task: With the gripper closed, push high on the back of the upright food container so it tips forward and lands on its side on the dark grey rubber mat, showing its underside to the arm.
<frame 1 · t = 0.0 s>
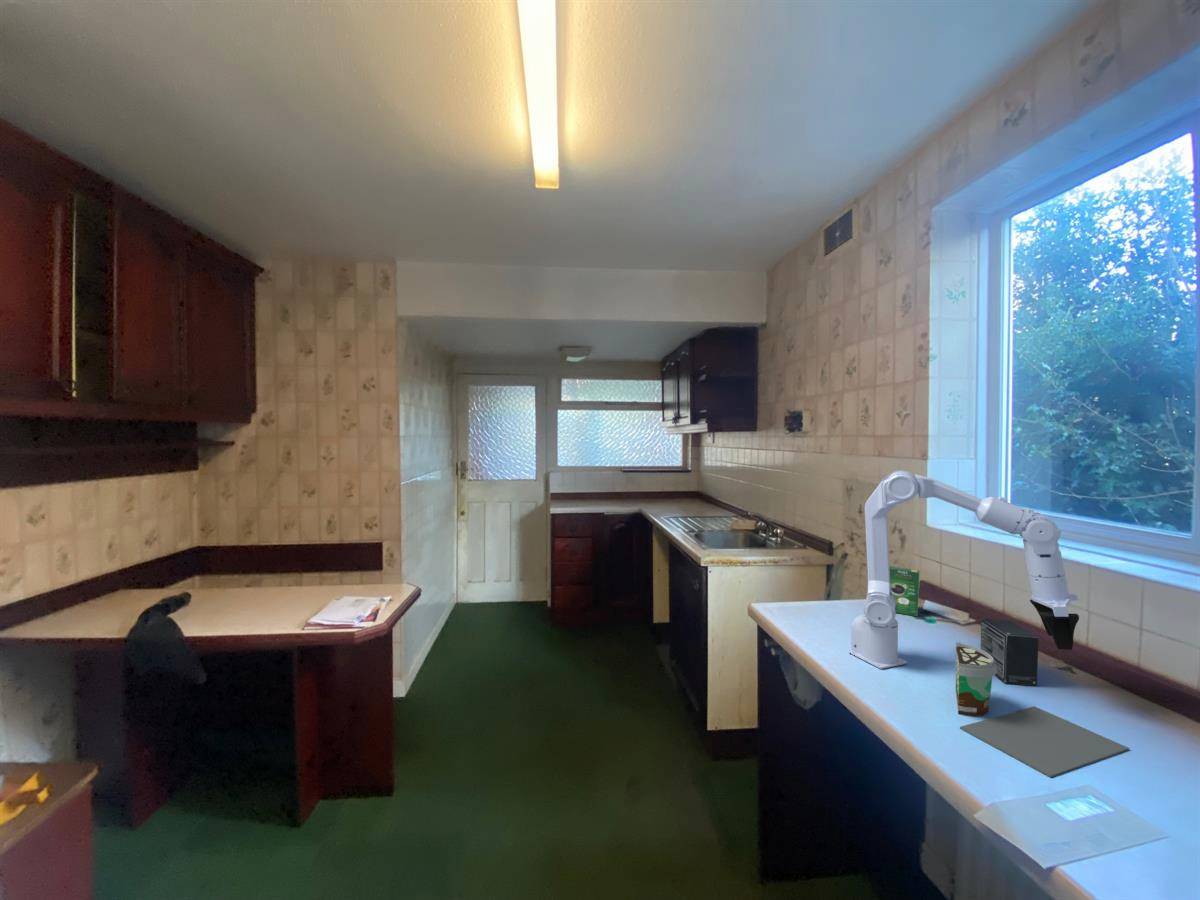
hand: (1059, 641, 104), 11 cm above the table, tool pointing down, fingers open, 7 cm apart
small box: (1007, 675, 113), on the table
mat: (1041, 738, 89), on the table
food container: (976, 708, 99), on the table
coffee box: (902, 613, 150), on the table
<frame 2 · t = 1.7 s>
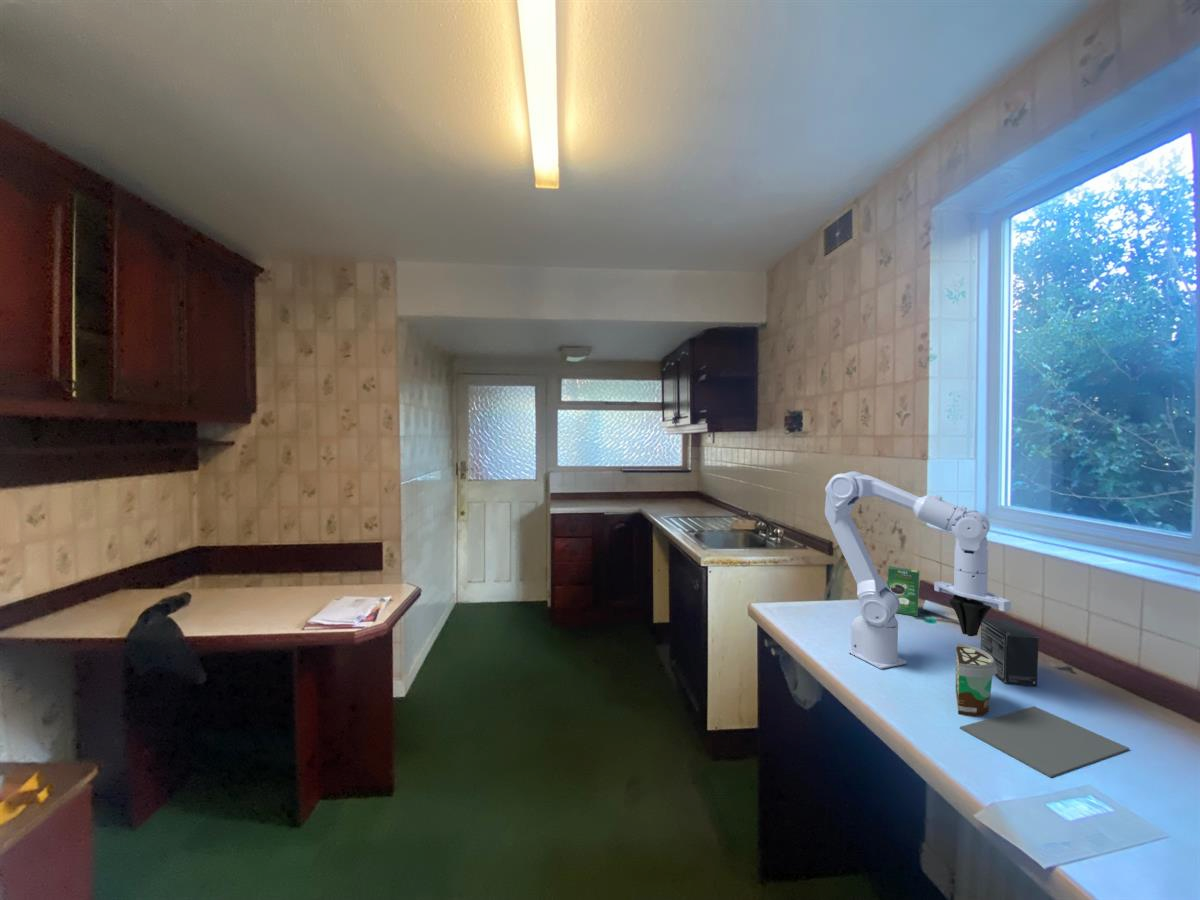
hand: (969, 634, 108), 10 cm above the table, tool pointing down, fingers closed
nothing on the table moved.
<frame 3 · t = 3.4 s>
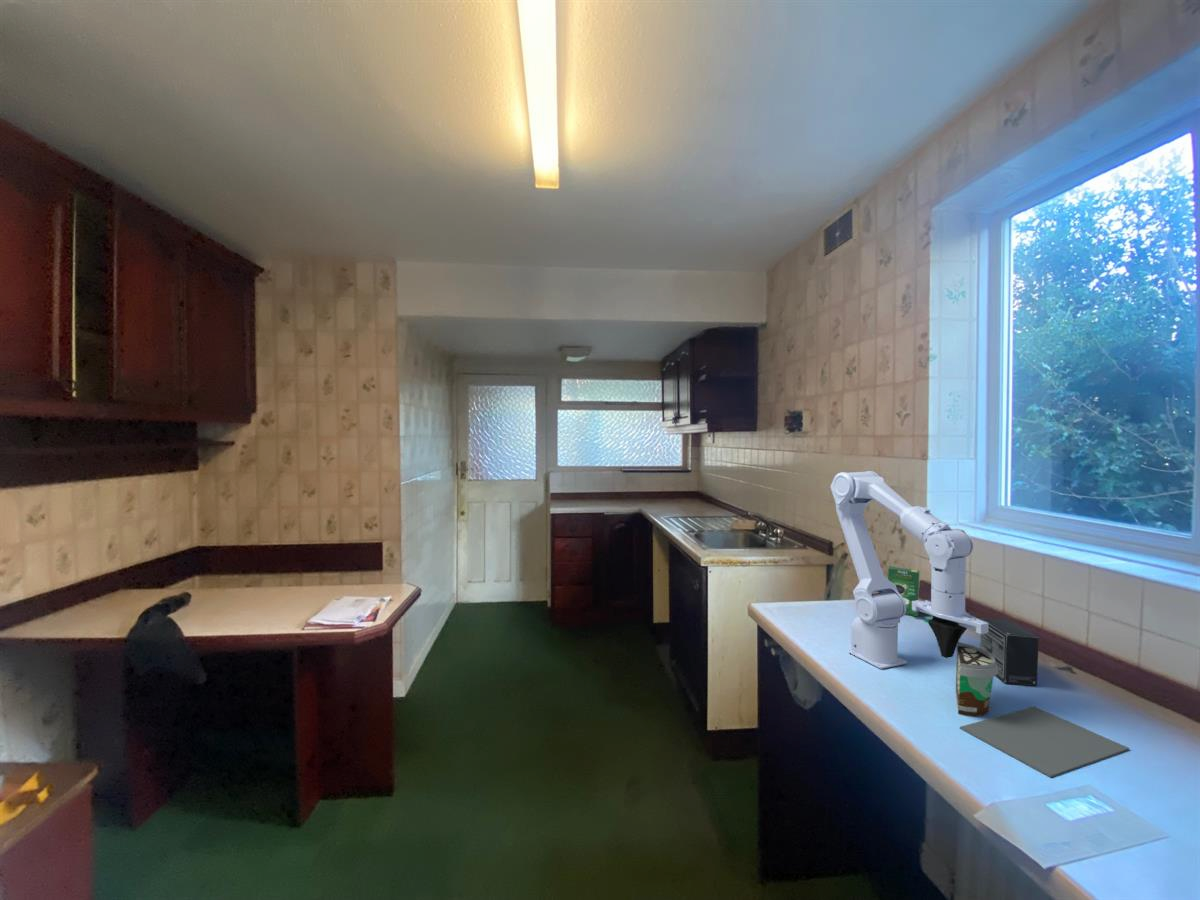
hand: (947, 656, 105), 7 cm above the table, tool pointing down, fingers closed
food container: (976, 707, 99), on the table, touching gripper
everything else where it was.
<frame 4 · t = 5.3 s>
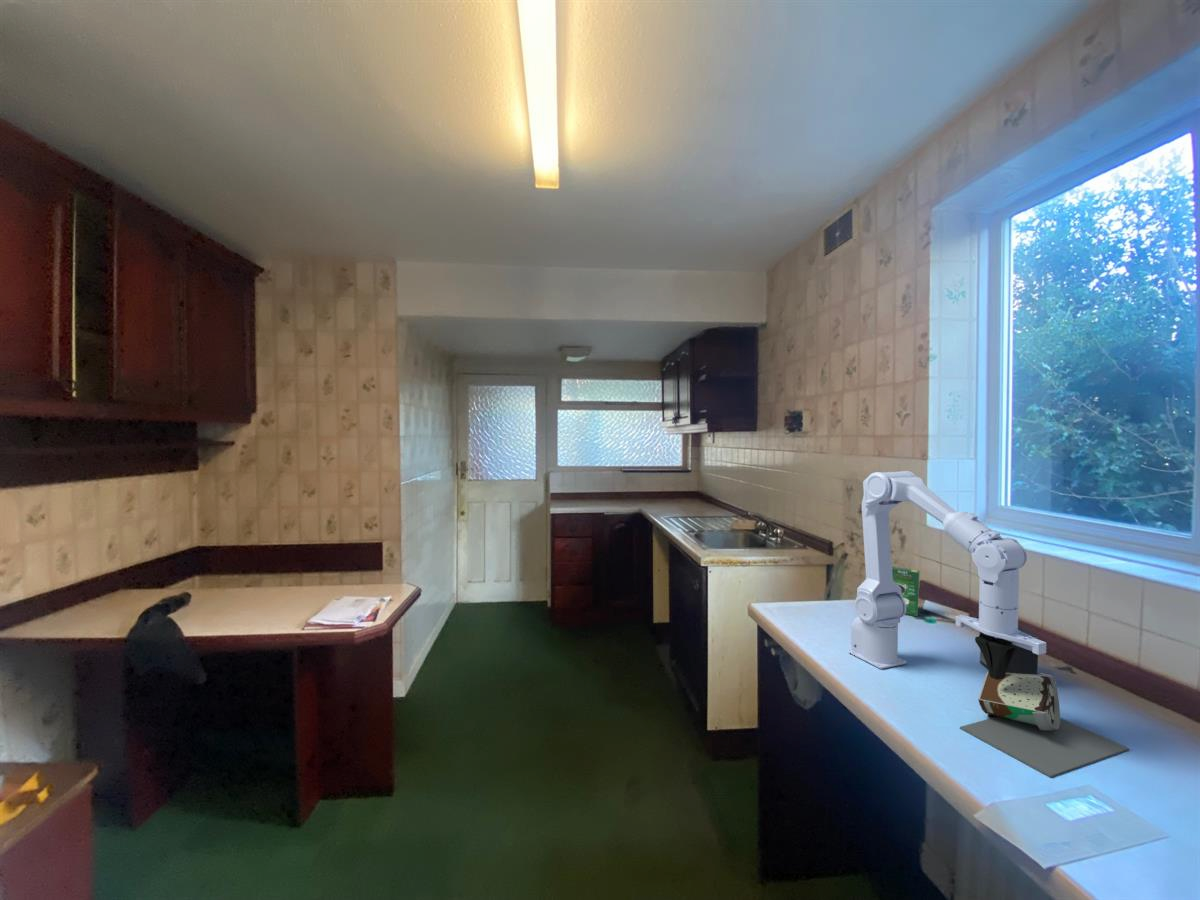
hand: (997, 677, 96), 7 cm above the table, tool pointing down, fingers closed
food container: (985, 699, 98), point 2 cm above the table, touching mat
everything else where it was.
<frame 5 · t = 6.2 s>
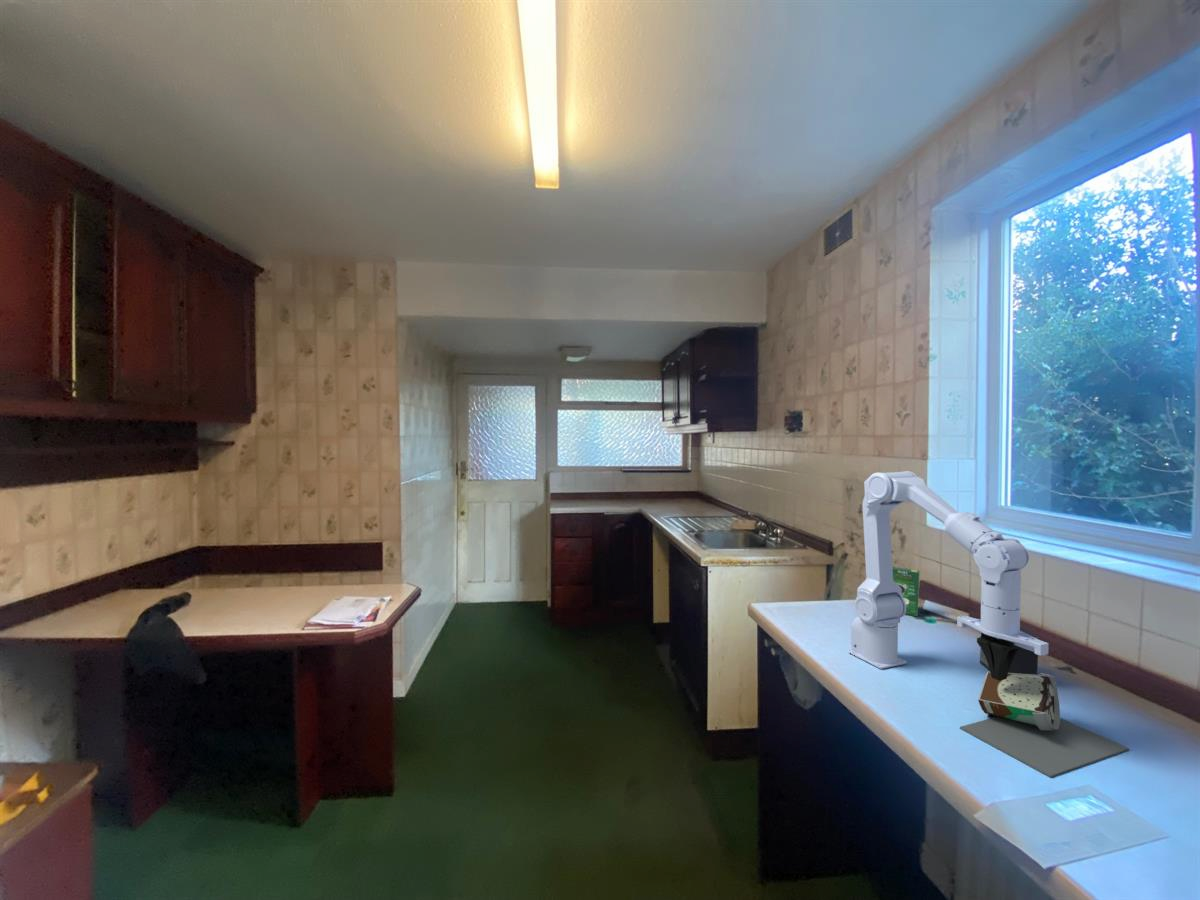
hand: (998, 678, 95), 7 cm above the table, tool pointing down, fingers closed
nothing on the table moved.
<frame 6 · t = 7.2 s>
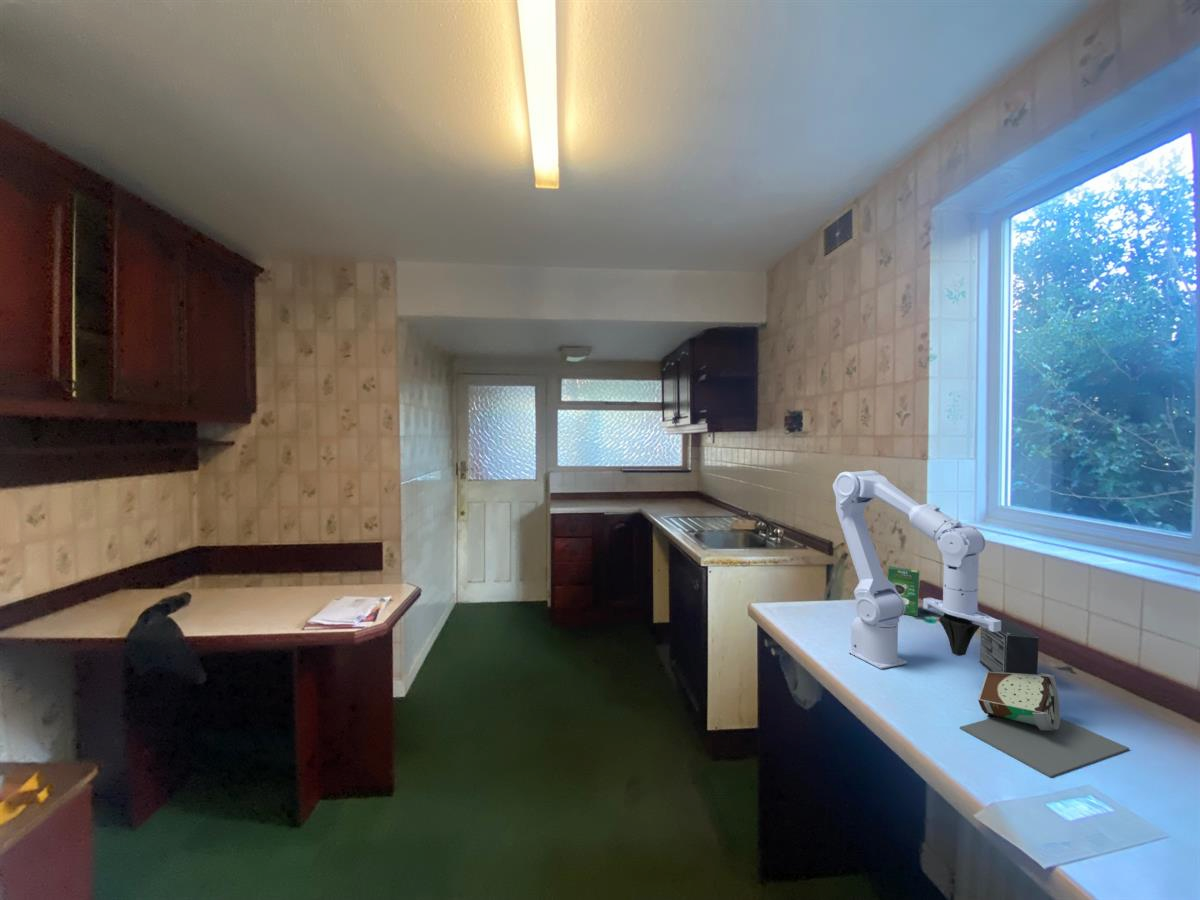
hand: (958, 654, 104), 8 cm above the table, tool pointing down, fingers closed
nothing on the table moved.
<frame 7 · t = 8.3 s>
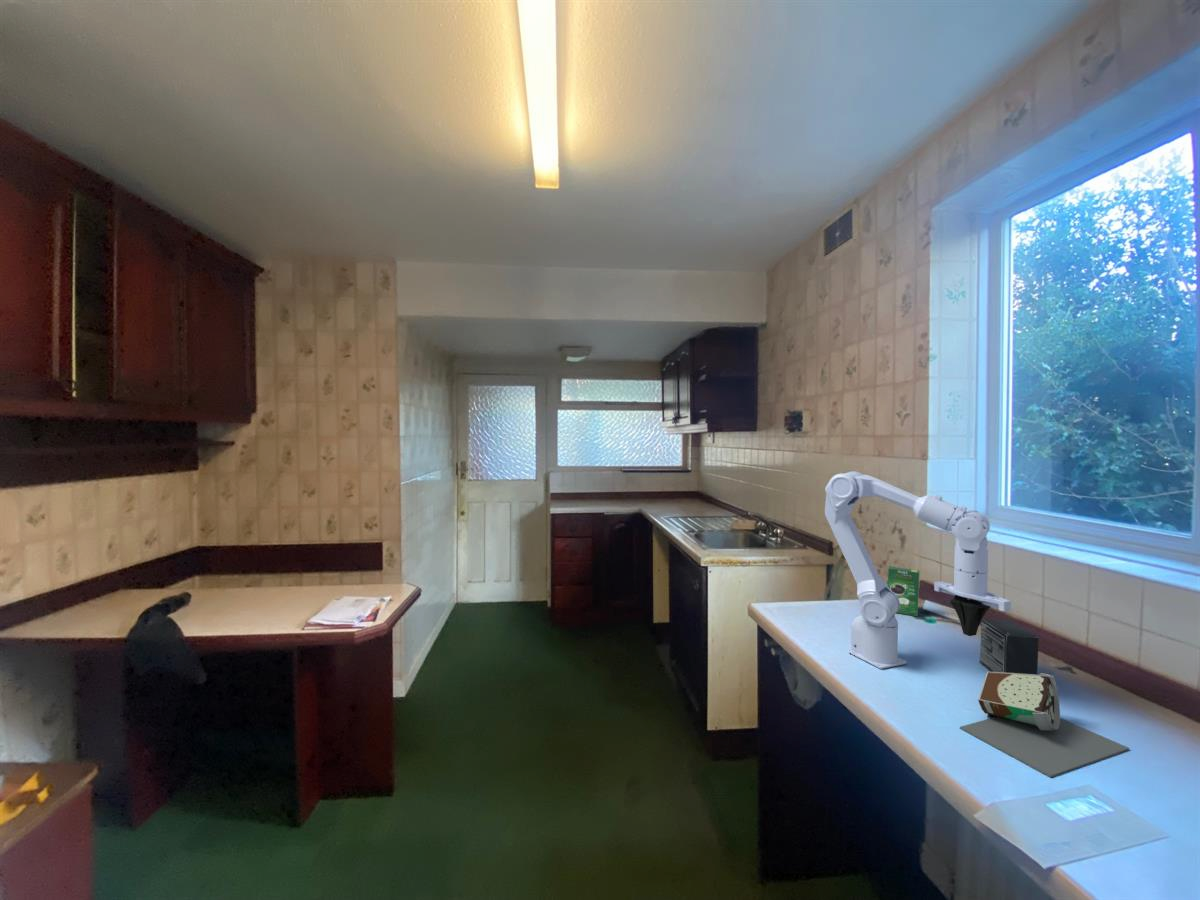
hand: (969, 634, 108), 10 cm above the table, tool pointing down, fingers closed
nothing on the table moved.
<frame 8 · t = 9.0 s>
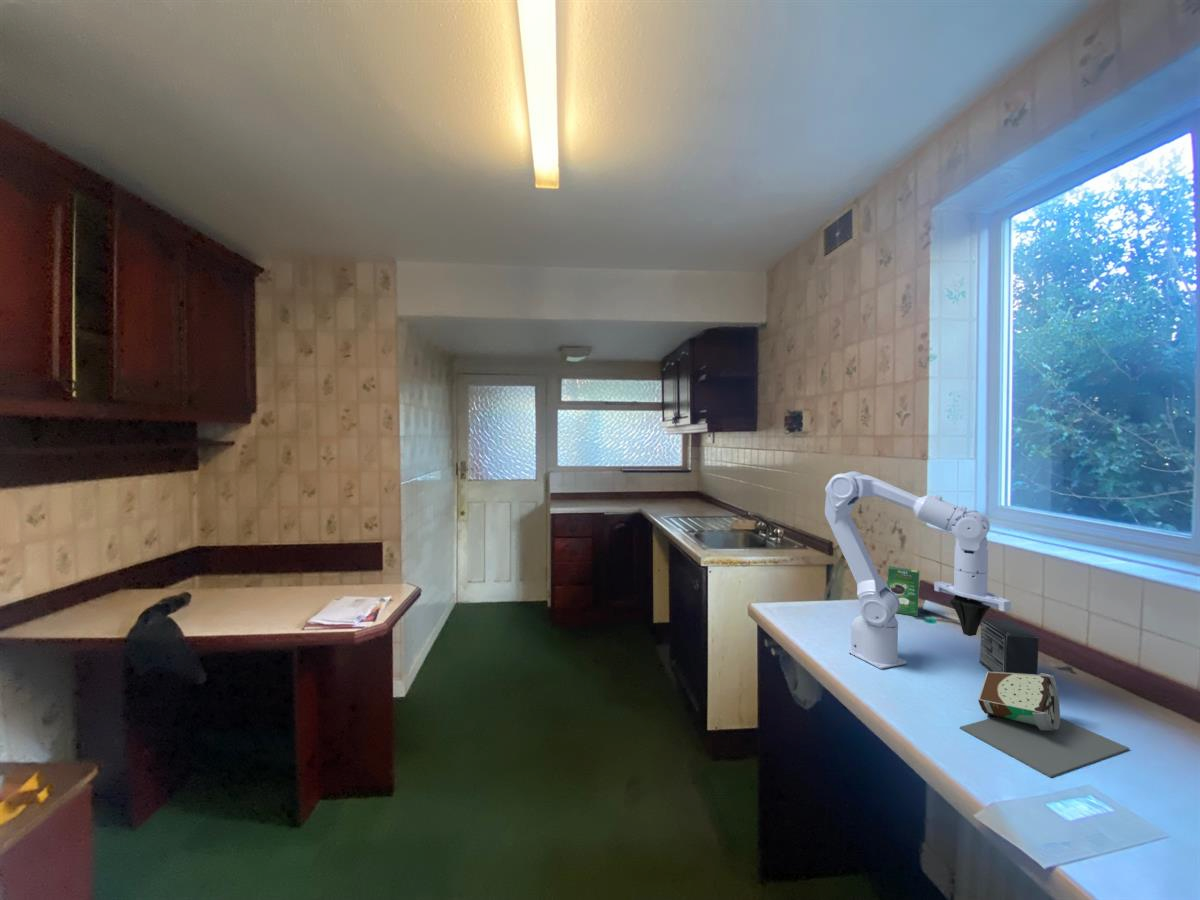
hand: (969, 634, 108), 10 cm above the table, tool pointing down, fingers closed
nothing on the table moved.
at the end: food container tilted 79°; food container inside the target area (8.7 cm from its centre), point 1.9 cm above the table; food container moved 2.4 cm from its start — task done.
